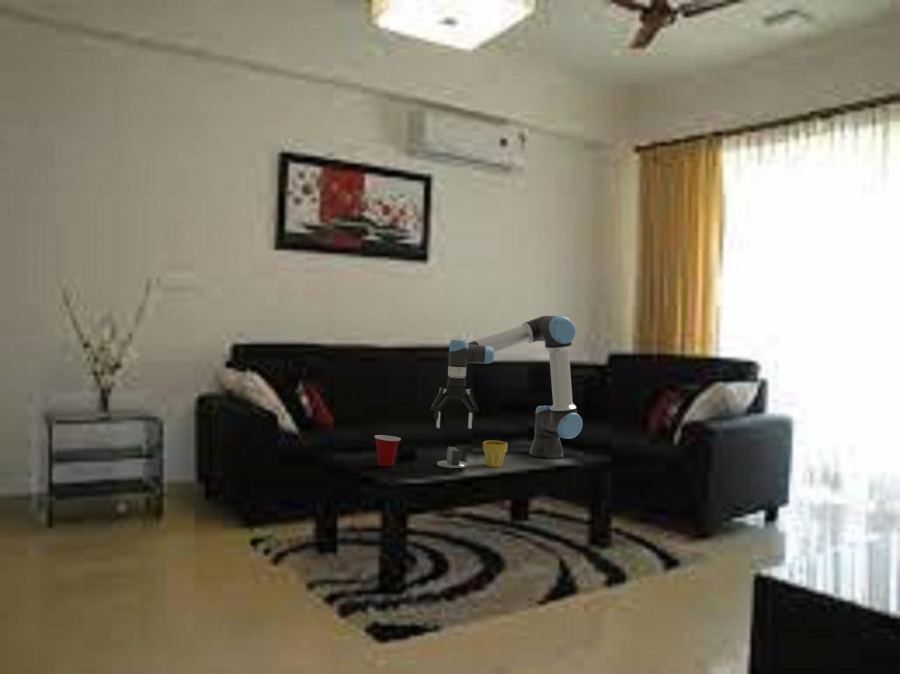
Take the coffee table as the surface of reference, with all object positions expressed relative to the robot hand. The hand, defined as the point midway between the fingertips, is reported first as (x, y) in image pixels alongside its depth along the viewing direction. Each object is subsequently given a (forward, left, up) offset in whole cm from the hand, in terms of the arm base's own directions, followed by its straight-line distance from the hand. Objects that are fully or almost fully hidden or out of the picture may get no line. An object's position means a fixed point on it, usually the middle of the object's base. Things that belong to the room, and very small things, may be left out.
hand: (453, 427), depth 333 cm
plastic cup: (+28, +1, -16) cm, 32 cm away
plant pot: (-18, 0, -16) cm, 24 cm away
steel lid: (0, 0, -16) cm, 16 cm away
